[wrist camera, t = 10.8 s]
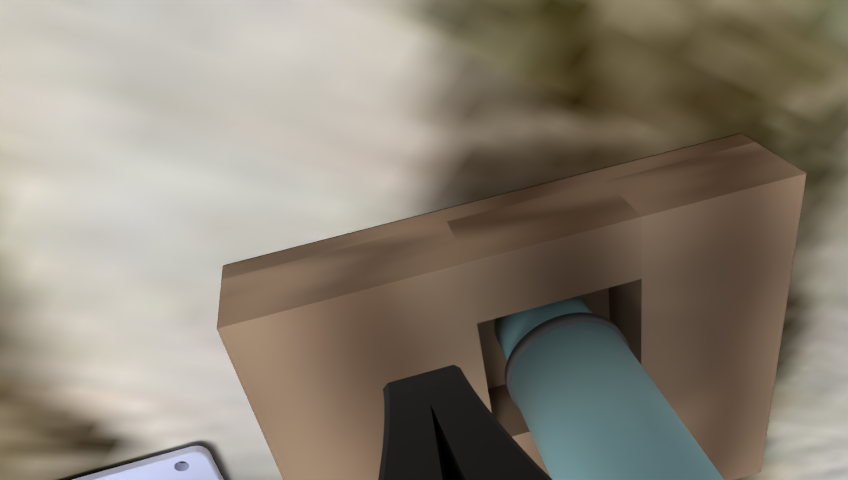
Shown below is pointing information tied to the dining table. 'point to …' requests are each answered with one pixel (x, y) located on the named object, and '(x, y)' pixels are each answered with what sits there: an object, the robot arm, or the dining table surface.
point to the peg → (593, 399)
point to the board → (529, 303)
